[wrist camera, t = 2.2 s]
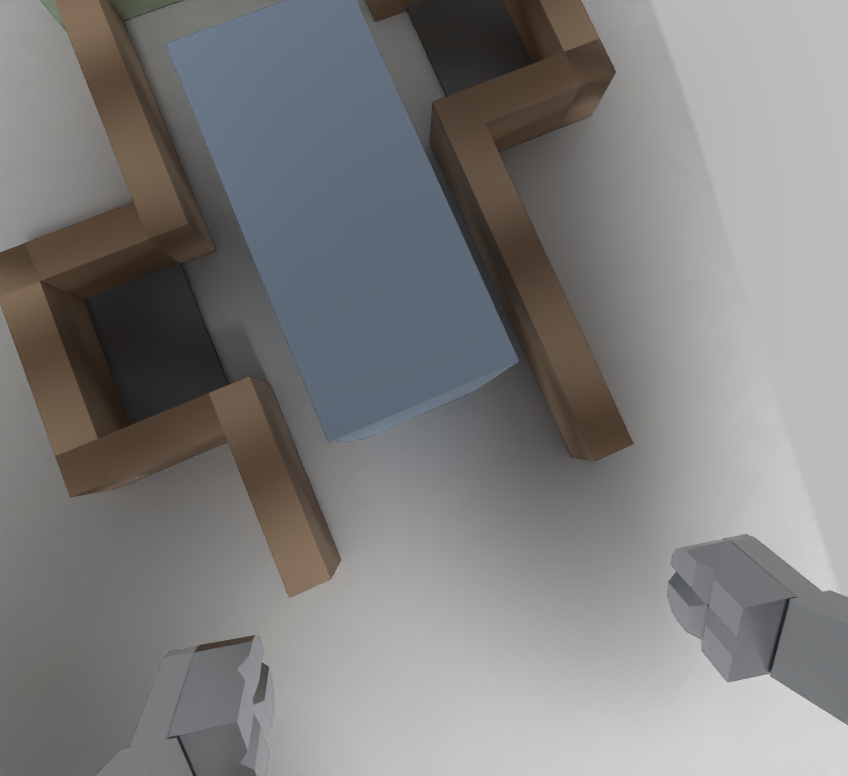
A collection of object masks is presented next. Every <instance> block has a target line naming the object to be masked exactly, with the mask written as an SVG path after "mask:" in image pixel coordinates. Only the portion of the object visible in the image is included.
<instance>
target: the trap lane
mask: <svg viewBox="0 0 848 776" xmlns="http://www.w3.org/2000/svg"><path fill="white" fill-rule="evenodd" d="M40 1H41V2H42V3H43V5H44V6H45V7H46V8H47V9H48V11H49V12H50V13H51V14H52V15H53V16H54V18H55V19H56V20H57V21H58V22H59V23H60V25H61V26H62V27H63V28H64V29H65V31H66V32H67V33H68V36H69V38H70V41H71V43H72V46H73V49H74V51H75V54H76V56H77V59H78V61H79V64H80V66H81V69H82V71H83V74H84V77H85V79H86V82H87V84H88V87H89V89H90V92H91V94H92V97H93V99H94V102H95V105H96V107H97V110H98V112H99V115H100V117H101V120H102V122H103V125H104V128H105V130H106V133H107V135H108V138H109V140H110V143H111V145H112V148H113V150H114V153H115V156H116V158H117V161H118V163H119V166H120V168H121V171H122V173H123V176H124V178H125V181H126V184H127V186H128V189H129V191H130V194H131V196H132V199H133V201H134V202H132V203H130V204H127V205H124V206H122V207H119V208H116V209H114V210H111V211H109V212H106V213H103V214H101V215H98V216H95V217H93V218H90V219H87V220H85V221H82V222H80V223H77V224H74V225H72V226H69V227H66V228H64V229H61V230H59V231H56V232H53V233H51V234H48V235H45V236H43V237H40V238H37V239H35V240H32V241H30V242H27V243H24V244H22V245H19V246H16V247H14V248H11V249H8V250H6V251H3V252H1V253H0V305H1V307H2V310H3V313H4V316H5V318H6V321H7V324H8V327H9V329H10V332H11V335H12V338H13V341H14V343H15V346H16V349H17V352H18V354H19V357H20V360H21V363H22V365H23V368H24V371H25V374H26V376H27V379H28V382H29V385H30V388H31V390H32V393H33V396H34V399H35V401H36V404H37V407H38V410H39V412H40V415H41V418H42V421H43V423H44V426H45V429H46V432H47V435H48V437H49V440H50V443H51V446H52V448H53V451H54V454H55V457H56V459H57V462H58V465H59V468H60V471H61V473H62V476H63V479H64V482H65V484H66V487H67V490H68V493H69V495H70V497H75V496H81V495H86V494H91V493H97V492H102V491H108V490H113V489H117V488H119V487H121V486H124V485H126V484H129V483H131V482H133V481H136V480H138V479H140V478H143V477H145V476H148V475H150V474H152V473H155V472H157V471H159V470H162V469H164V468H167V467H169V466H171V465H174V464H176V463H179V462H181V461H183V460H186V459H188V458H190V457H193V456H195V455H198V454H200V453H202V452H205V451H207V450H209V449H212V448H214V447H217V446H219V445H221V444H224V443H226V442H228V443H229V446H230V449H231V451H232V454H233V456H234V459H235V461H236V464H237V466H238V469H239V472H240V474H241V477H242V479H243V482H244V484H245V487H246V489H247V492H248V494H249V497H250V500H251V502H252V505H253V507H254V510H255V512H256V515H257V517H258V520H259V522H260V525H261V528H262V530H263V533H264V535H265V538H266V540H267V543H268V545H269V548H270V551H271V553H272V556H273V558H274V561H275V563H276V566H277V568H278V571H279V573H280V576H281V579H282V581H283V584H284V586H285V589H286V591H287V594H288V596H289V598H290V597H292V596H294V595H297V594H299V593H301V592H303V591H306V590H308V589H310V588H312V587H315V586H317V585H319V584H321V583H323V582H326V581H328V580H330V579H331V578H332V576H333V574H334V572H335V570H336V569H337V567H338V565H339V563H340V561H341V559H340V556H339V554H338V552H337V549H336V547H335V544H334V542H333V539H332V537H331V534H330V532H329V529H328V527H327V524H326V522H325V519H324V517H323V514H322V512H321V509H320V507H319V504H318V502H317V500H316V497H315V495H314V492H313V490H312V487H311V485H310V482H309V480H308V477H307V475H306V472H305V470H304V467H303V465H302V462H301V460H300V457H299V455H298V452H297V450H296V448H295V445H294V443H293V440H292V438H291V435H290V433H289V430H288V428H287V425H286V423H285V420H284V418H283V415H282V413H281V410H280V408H279V405H278V403H277V400H276V398H275V396H274V393H273V391H272V388H271V386H270V384H269V383H266V382H263V381H261V380H258V379H255V378H253V377H250V376H249V377H246V378H244V379H242V380H239V381H237V382H234V383H232V384H229V383H228V381H227V378H226V376H225V373H224V371H223V368H222V366H221V363H220V361H219V358H218V356H217V353H216V351H215V348H214V346H213V343H212V341H211V338H210V336H209V333H208V330H207V328H206V325H205V323H204V320H203V318H202V315H201V313H200V310H199V308H198V305H197V303H196V300H195V298H194V295H193V293H192V290H191V288H190V285H189V283H188V280H187V278H186V275H185V272H184V270H183V267H182V265H181V264H182V263H184V262H187V261H190V260H192V259H195V258H197V257H200V256H202V255H205V254H207V253H210V252H213V251H215V250H216V249H215V247H214V244H213V242H212V239H211V237H210V235H209V232H208V230H207V227H206V225H205V222H204V220H203V217H202V215H201V212H200V210H199V207H198V205H197V202H196V200H195V197H194V195H193V192H192V190H191V187H190V185H189V183H188V180H187V178H186V175H185V173H184V170H183V168H182V165H181V163H180V160H179V158H178V155H177V153H176V150H175V148H174V145H173V143H172V140H171V138H170V135H169V133H168V131H167V128H166V126H165V123H164V121H163V118H162V116H161V113H160V111H159V108H158V106H157V103H156V101H155V98H154V96H153V93H152V91H151V88H150V86H149V83H148V81H147V78H146V76H145V74H144V71H143V69H142V66H141V64H140V61H139V59H138V56H137V54H136V51H135V49H134V46H133V44H132V41H131V39H130V36H129V34H128V31H127V29H126V26H125V24H124V22H123V21H124V20H127V19H130V18H132V17H135V16H138V15H141V14H144V13H147V12H149V11H152V10H155V9H158V8H161V7H164V6H166V5H169V4H172V3H175V2H178V1H181V0H40ZM366 2H367V4H368V7H369V9H370V11H371V13H372V16H373V18H374V20H375V22H376V21H378V20H381V19H384V18H387V17H389V16H392V15H395V14H397V13H400V12H403V11H406V10H407V11H408V13H409V16H410V18H411V20H412V22H413V24H414V27H415V29H416V31H417V33H418V35H419V37H420V40H421V42H422V44H423V46H424V48H425V51H426V53H427V55H428V57H429V59H430V61H431V64H432V66H433V68H434V70H435V72H436V75H437V77H438V79H439V81H440V83H441V85H442V88H443V90H444V92H445V94H446V96H447V97H444V98H442V99H439V100H437V101H434V102H432V116H431V130H430V144H431V146H432V149H433V151H434V153H435V155H436V157H437V160H438V162H439V164H440V166H441V169H442V171H443V173H444V175H445V177H446V180H447V182H448V184H449V186H450V189H451V191H452V193H453V195H454V197H455V200H456V202H457V204H458V206H459V208H460V211H461V213H462V215H463V217H464V220H465V222H466V224H467V226H468V228H469V231H470V233H471V235H472V237H473V240H474V242H475V244H476V246H477V248H478V251H479V253H480V255H481V257H482V259H483V262H484V264H485V266H486V268H487V271H488V273H489V275H490V277H491V279H492V282H493V284H494V286H495V288H496V291H497V293H498V295H499V297H500V299H501V302H502V304H503V306H504V308H505V310H506V313H507V315H508V317H509V319H510V322H511V324H512V326H513V328H514V330H515V333H516V335H517V337H518V339H519V342H520V344H521V346H522V348H523V350H524V353H525V355H526V357H527V359H528V361H529V364H530V366H531V368H532V370H533V373H534V375H535V377H536V379H537V381H538V384H539V386H540V388H541V390H542V393H543V395H544V397H545V399H546V401H547V404H548V406H549V408H550V410H551V413H552V415H553V417H554V419H555V421H556V424H557V426H558V428H559V430H560V432H561V435H562V437H563V439H564V441H565V444H566V446H567V448H568V450H569V452H570V455H571V457H572V458H578V459H585V460H593V461H597V460H599V459H601V458H603V457H605V456H608V455H610V454H612V453H614V452H617V451H619V450H621V449H623V448H626V447H628V446H630V445H632V444H633V441H632V439H631V437H630V435H629V433H628V431H627V429H626V426H625V424H624V422H623V420H622V418H621V416H620V413H619V411H618V409H617V407H616V405H615V403H614V400H613V398H612V396H611V394H610V392H609V390H608V387H607V385H606V383H605V381H604V379H603V377H602V374H601V372H600V370H599V368H598V366H597V364H596V362H595V359H594V357H593V355H592V353H591V351H590V349H589V346H588V344H587V342H586V340H585V338H584V336H583V333H582V331H581V329H580V327H579V325H578V323H577V320H576V318H575V316H574V314H573V312H572V310H571V307H570V305H569V303H568V301H567V299H566V297H565V295H564V292H563V290H562V288H561V286H560V284H559V282H558V279H557V277H556V275H555V273H554V271H553V269H552V266H551V264H550V262H549V260H548V258H547V256H546V253H545V251H544V249H543V247H542V245H541V243H540V240H539V238H538V236H537V234H536V232H535V230H534V228H533V225H532V223H531V221H530V219H529V217H528V215H527V212H526V210H525V208H524V206H523V204H522V202H521V199H520V197H519V195H518V193H517V191H516V189H515V186H514V184H513V182H512V180H511V178H510V176H509V173H508V171H507V169H506V167H505V165H504V163H503V161H502V158H501V156H500V154H499V151H502V150H504V149H507V148H509V147H512V146H514V145H517V144H519V143H522V142H525V141H527V140H530V139H532V138H535V137H537V136H540V135H542V134H545V133H547V132H550V131H552V130H555V129H558V128H560V127H563V126H565V125H568V124H570V123H573V122H575V121H578V120H580V119H583V118H586V117H588V116H591V115H592V113H593V112H594V110H595V108H596V106H597V105H598V103H599V101H600V99H601V98H602V96H603V94H604V92H605V91H606V89H607V87H608V85H609V84H610V82H611V80H612V78H613V77H614V75H615V73H616V71H615V69H614V67H613V65H612V63H611V61H610V59H609V57H608V55H607V53H606V50H605V48H604V46H603V44H602V42H601V40H600V38H599V36H598V34H597V32H596V30H595V28H594V26H593V24H592V22H591V20H590V18H589V16H588V14H587V12H586V10H585V8H584V6H583V4H582V2H581V0H366Z"/></svg>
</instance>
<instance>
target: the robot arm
mask: <svg viewBox="0 0 848 776" xmlns="http://www.w3.org/2000/svg"><path fill="white" fill-rule="evenodd" d="M670 565H671V566H672V567H673V568H674V570H675V571H676V573H675V574H674V575H673V577H672V578H671V579H670V580H669V582H668V590H667V597H668V600H669V604H670V607H671V610H672V612H673V614H674V616H675V618H676V619H677V621H678V622H679V623H680V625H681V626H682V627H683V629H684V630H685V631H686V632H688V633H690V634H692V635H694V636H696V637H697V638H699V639H701V649H702V652H703V653H704V655H705V656H706V657H707V658H708V659H709V661H710V662H711V663H712V664H713V666H714V667H715V668H716V669H717V670H718V672H719V673H720V674H721V675H722V677H723V678H724V679H725V680H726V681H727V682H732V681H737V680H741V679H746V678H751V677H756V676H761V675H765V674H770V673H771V675H770V676H771V677H772V678H774V679H775V680H777V681H779V682H780V683H782V684H783V685H785V686H787V687H788V688H790V689H791V690H793V691H794V692H796V693H798V694H799V695H801V696H802V697H804V698H806V699H807V700H809V701H810V702H812V703H813V704H815V705H817V706H818V707H820V708H821V709H823V710H825V711H826V712H828V713H829V714H831V715H833V716H834V717H836V718H837V719H839V720H840V721H842V722H844V723H845V724H847V725H848V597H846V596H843V595H841V594H838V593H836V592H833V591H824V592H822V591H821V590H820V589H819V588H817V587H816V586H815V585H814V584H812V583H811V582H810V581H809V580H807V579H806V578H805V577H804V576H802V575H801V574H800V573H799V572H797V571H796V570H795V569H794V568H792V567H791V566H790V565H789V564H787V563H786V562H785V561H784V560H782V559H781V558H780V557H779V556H777V555H776V554H775V553H774V552H772V551H771V550H770V549H769V548H767V547H766V546H765V545H764V544H762V543H761V542H760V541H759V540H757V539H756V538H755V537H753V536H750V535H747V534H743V535H739V536H734V537H729V538H725V539H722V540H715V541H710V542H706V543H701V544H696V545H692V546H687V547H682V548H678V549H676V550H675V551H674V553H673V554H672V558H671V564H670ZM263 651H264V648H263V646H262V643H261V640H260V637H259V636H257V635H254V636H248V637H243V638H237V639H231V640H226V641H220V642H215V643H209V644H203V645H199V646H195V647H190V648H184V649H178V650H173V651H169V652H168V654H167V655H166V656H165V657H164V659H163V660H162V663H161V665H160V668H159V671H158V673H157V676H156V679H155V681H154V684H153V687H152V689H151V692H150V695H149V697H148V700H147V702H146V705H145V708H144V710H143V713H142V716H141V718H140V721H139V724H138V726H137V729H136V732H135V734H134V737H133V740H132V742H131V745H130V748H126V749H122V750H119V751H118V752H117V754H116V755H115V756H114V757H113V758H112V759H111V760H110V761H109V762H108V763H107V764H106V765H105V766H104V767H103V769H102V770H101V771H100V772H99V773H98V774H97V775H96V776H266V772H267V764H268V756H269V751H268V748H267V744H266V741H265V738H264V736H265V735H266V733H267V732H268V730H269V729H270V728H271V726H272V722H273V712H274V688H273V681H272V676H271V672H270V668H269V667H268V666H267V665H265V664H264V663H262V658H263Z"/></svg>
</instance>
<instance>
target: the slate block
mask: <svg viewBox="0 0 848 776" xmlns="http://www.w3.org/2000/svg"><path fill="white" fill-rule="evenodd" d="M165 45H166V48H167V50H168V52H169V55H170V57H171V60H172V62H173V65H174V67H175V70H176V72H177V74H178V77H179V79H180V82H181V84H182V87H183V89H184V92H185V94H186V96H187V99H188V101H189V104H190V106H191V109H192V111H193V113H194V116H195V118H196V121H197V123H198V126H199V128H200V131H201V133H202V135H203V138H204V140H205V143H206V145H207V148H208V150H209V153H210V155H211V157H212V160H213V162H214V165H215V167H216V170H217V172H218V174H219V177H220V179H221V182H222V184H223V187H224V189H225V192H226V194H227V196H228V199H229V201H230V204H231V206H232V209H233V211H234V213H235V216H236V218H237V221H238V223H239V226H240V228H241V231H242V233H243V235H244V238H245V240H246V243H247V245H248V248H249V250H250V253H251V255H252V257H253V260H254V262H255V265H256V267H257V270H258V272H259V274H260V277H261V279H262V282H263V284H264V287H265V289H266V292H267V294H268V296H269V299H270V301H271V304H272V306H273V309H274V311H275V314H276V316H277V318H278V321H279V323H280V326H281V328H282V331H283V333H284V335H285V338H286V340H287V343H288V345H289V348H290V350H291V353H292V355H293V357H294V360H295V362H296V365H297V367H298V370H299V372H300V375H301V377H302V379H303V382H304V384H305V387H306V389H307V392H308V394H309V396H310V399H311V401H312V404H313V406H314V409H315V411H316V414H317V416H318V418H319V421H320V423H321V426H322V428H323V431H324V433H325V436H326V438H327V440H328V442H340V441H352V440H362V439H364V438H367V437H369V436H371V435H374V434H376V433H378V432H381V431H383V430H385V429H388V428H390V427H392V426H395V425H397V424H399V423H402V422H404V421H406V420H409V419H411V418H413V417H416V416H418V415H420V414H423V413H425V412H427V411H430V410H432V409H434V408H437V407H439V406H441V405H444V404H446V403H448V402H451V401H453V400H455V399H458V398H460V397H462V396H465V395H467V394H469V393H472V392H474V391H476V390H477V389H479V388H480V387H482V386H483V385H485V384H486V383H488V382H489V381H491V380H492V379H494V378H495V377H496V376H498V375H499V374H501V373H502V372H504V371H505V370H507V369H508V368H510V367H511V366H513V365H514V364H516V363H517V362H518V361H519V360H518V357H517V355H516V353H515V351H514V348H513V346H512V344H511V342H510V340H509V337H508V335H507V333H506V331H505V328H504V326H503V324H502V322H501V320H500V317H499V315H498V313H497V311H496V308H495V306H494V304H493V302H492V300H491V297H490V295H489V293H488V291H487V288H486V286H485V284H484V282H483V280H482V277H481V275H480V273H479V271H478V268H477V266H476V264H475V262H474V260H473V257H472V255H471V253H470V251H469V248H468V246H467V244H466V242H465V240H464V237H463V235H462V233H461V231H460V228H459V226H458V224H457V222H456V220H455V217H454V215H453V213H452V211H451V208H450V206H449V204H448V202H447V200H446V197H445V195H444V193H443V191H442V188H441V186H440V184H439V182H438V180H437V177H436V175H435V173H434V171H433V168H432V166H431V164H430V162H429V160H428V157H427V155H426V153H425V151H424V148H423V146H422V144H421V142H420V140H419V137H418V135H417V133H416V131H415V128H414V126H413V124H412V122H411V120H410V117H409V115H408V113H407V111H406V108H405V106H404V104H403V102H402V100H401V97H400V95H399V93H398V91H397V88H396V86H395V84H394V82H393V80H392V77H391V75H390V73H389V71H388V68H387V66H386V64H385V62H384V60H383V57H382V55H381V53H380V51H379V48H378V46H377V44H376V42H375V40H374V37H373V35H372V33H371V31H370V28H369V26H368V24H367V22H366V20H365V17H364V15H363V13H362V11H361V8H360V6H359V4H358V2H357V0H286V1H283V2H280V3H277V4H275V5H272V6H269V7H266V8H263V9H261V10H258V11H255V12H252V13H250V14H247V15H244V16H241V17H238V18H236V19H233V20H230V21H227V22H224V23H222V24H219V25H216V26H213V27H211V28H208V29H205V30H202V31H199V32H197V33H194V34H191V35H188V36H185V37H183V38H180V39H177V40H174V41H172V42H169V43H166V44H165Z"/></svg>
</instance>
